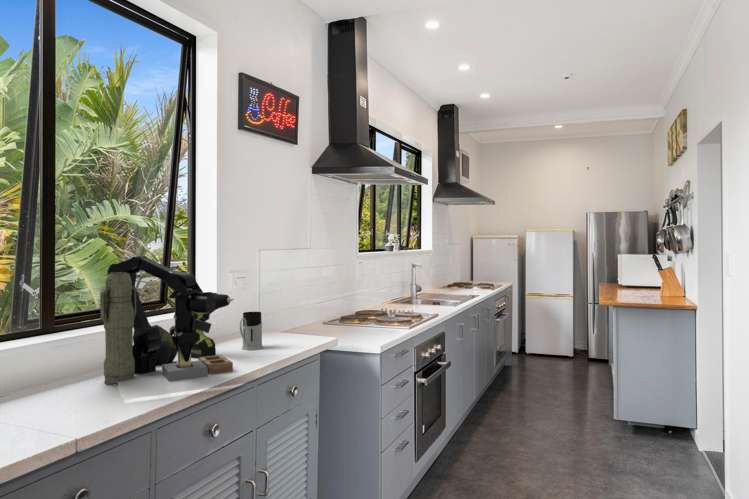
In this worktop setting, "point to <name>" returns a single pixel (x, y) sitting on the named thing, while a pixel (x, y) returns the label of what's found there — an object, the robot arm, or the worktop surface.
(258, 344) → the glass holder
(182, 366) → the block
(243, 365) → the worktop surface
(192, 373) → the socket block
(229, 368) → the walnut rack
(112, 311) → the olive carved statue
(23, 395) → the worktop surface
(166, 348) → the squash
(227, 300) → the cordless drill
